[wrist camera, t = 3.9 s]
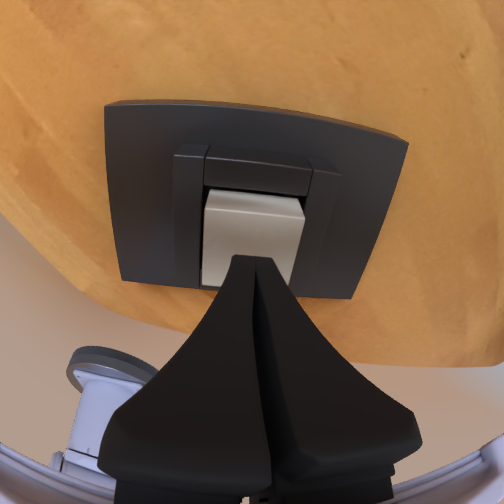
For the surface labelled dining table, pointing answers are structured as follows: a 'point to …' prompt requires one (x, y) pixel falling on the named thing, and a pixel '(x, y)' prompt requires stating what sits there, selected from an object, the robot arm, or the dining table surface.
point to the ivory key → (249, 231)
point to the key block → (245, 186)
